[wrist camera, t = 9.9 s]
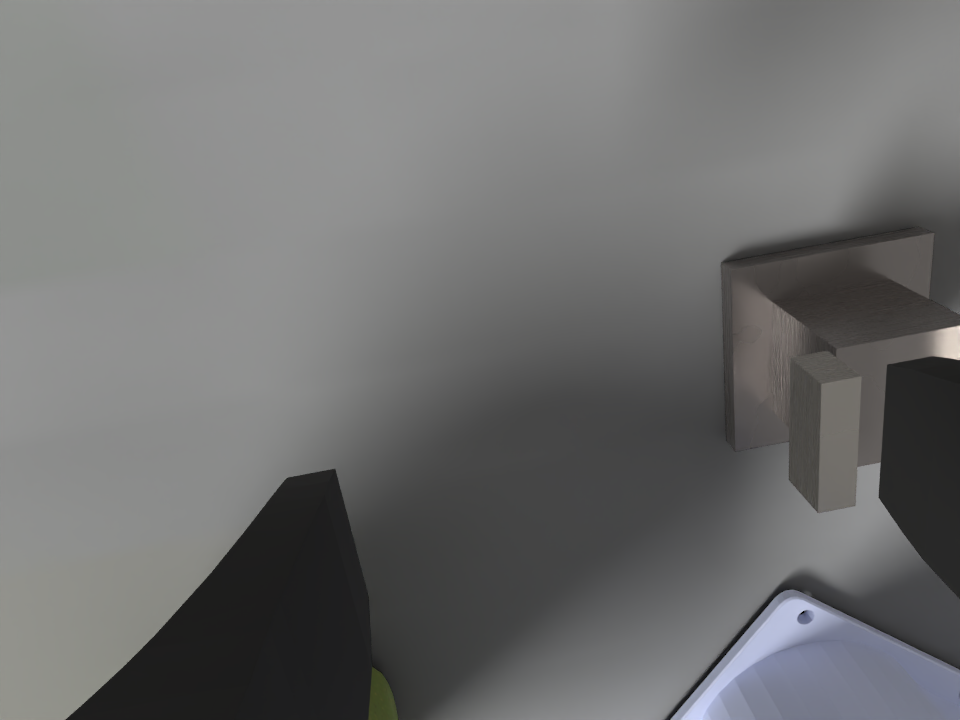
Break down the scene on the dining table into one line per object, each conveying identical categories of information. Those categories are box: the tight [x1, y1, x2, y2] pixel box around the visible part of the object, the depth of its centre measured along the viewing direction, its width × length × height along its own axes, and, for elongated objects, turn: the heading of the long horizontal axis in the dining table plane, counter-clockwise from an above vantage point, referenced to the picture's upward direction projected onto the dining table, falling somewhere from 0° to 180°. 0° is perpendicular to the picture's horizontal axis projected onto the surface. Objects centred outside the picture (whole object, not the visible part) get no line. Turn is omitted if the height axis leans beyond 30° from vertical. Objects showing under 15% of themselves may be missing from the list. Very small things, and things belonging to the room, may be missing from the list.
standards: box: [721, 227, 960, 513], centre depth 16 cm, size 17×5×5 cm, turn 9°
